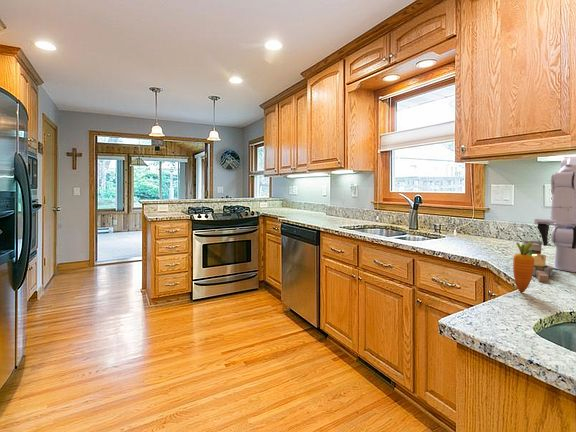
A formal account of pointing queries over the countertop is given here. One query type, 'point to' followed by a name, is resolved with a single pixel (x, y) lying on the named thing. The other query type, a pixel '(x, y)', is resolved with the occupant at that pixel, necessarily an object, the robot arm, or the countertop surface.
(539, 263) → the peg
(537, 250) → the food container
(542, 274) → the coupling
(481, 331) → the countertop surface
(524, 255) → the carrot
